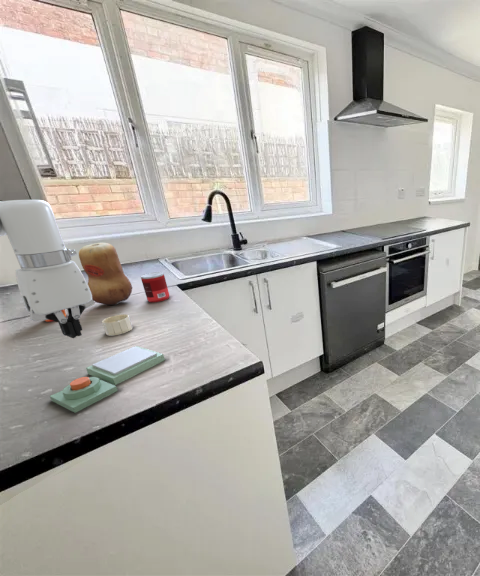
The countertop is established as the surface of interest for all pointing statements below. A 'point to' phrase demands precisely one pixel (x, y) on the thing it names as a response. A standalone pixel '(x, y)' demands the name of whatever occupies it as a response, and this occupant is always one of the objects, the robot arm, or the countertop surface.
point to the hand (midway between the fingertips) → (74, 335)
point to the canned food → (155, 286)
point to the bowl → (117, 324)
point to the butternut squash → (105, 274)
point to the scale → (125, 364)
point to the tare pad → (83, 395)
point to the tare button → (80, 383)
